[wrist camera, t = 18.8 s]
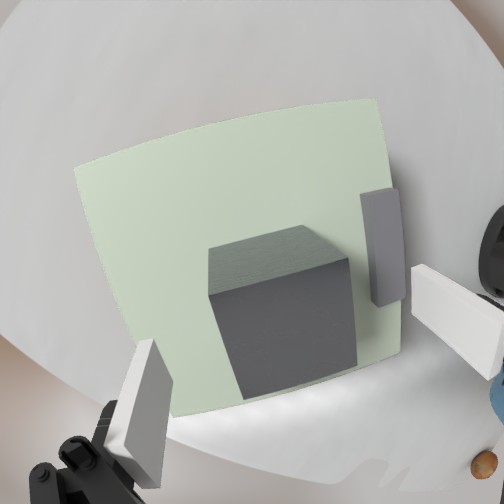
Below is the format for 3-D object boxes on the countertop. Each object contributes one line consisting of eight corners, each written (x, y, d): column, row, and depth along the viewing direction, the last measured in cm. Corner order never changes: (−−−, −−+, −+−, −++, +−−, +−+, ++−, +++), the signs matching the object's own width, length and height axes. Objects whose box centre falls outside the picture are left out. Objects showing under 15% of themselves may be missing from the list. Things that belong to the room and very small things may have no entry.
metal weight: (302, 224, 19) (348, 257, 13) (316, 307, 21) (357, 365, 14) (208, 248, 19) (207, 295, 12) (232, 330, 21) (243, 400, 14)
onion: (477, 461, 63) (491, 478, 53) (460, 470, 61) (474, 489, 51) (493, 442, 60) (508, 459, 51) (476, 450, 58) (492, 470, 49)
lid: (365, 101, 19) (385, 95, 16) (391, 343, 25) (406, 359, 23) (81, 167, 18) (64, 169, 15) (174, 405, 24) (172, 427, 21)
